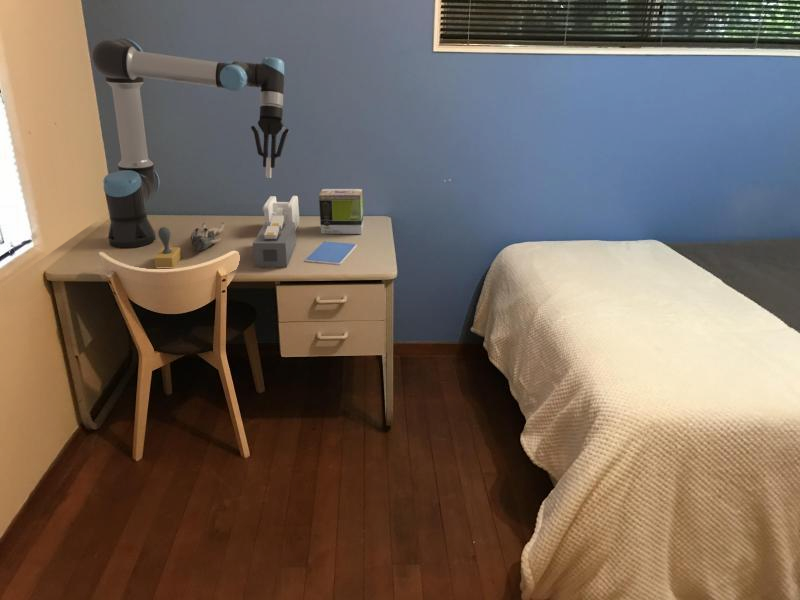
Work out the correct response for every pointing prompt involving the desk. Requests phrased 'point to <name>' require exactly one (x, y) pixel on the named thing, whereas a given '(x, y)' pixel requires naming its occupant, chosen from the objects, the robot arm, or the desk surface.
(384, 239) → the desk surface
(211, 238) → the anime figure
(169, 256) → the rubber stamp
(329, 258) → the blue flat rectangular pad
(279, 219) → the back rocker
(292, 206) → the cable organizer
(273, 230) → the block
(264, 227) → the rocker switch panel
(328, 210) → the tea box
